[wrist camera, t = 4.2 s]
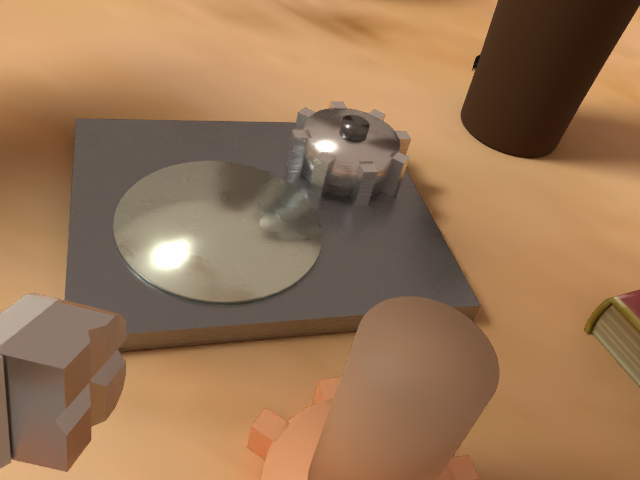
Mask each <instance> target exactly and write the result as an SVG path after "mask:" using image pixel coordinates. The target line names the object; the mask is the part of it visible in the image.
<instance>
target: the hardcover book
mask: <svg viewBox="0 0 640 480" xmlns="http://www.w3.org/2000/svg"><path fill="white" fill-rule="evenodd" d="M584 331H585V332H586V333H587V334H591V333H592V334H593V335H594V336H595V337H596V338H597V339H598V340H599V342H600V343H601V344H602V345H603V346H604V347H605V348H606V350H607V351H608V352H609V353H610V354H611V355H612V356H613V357H614V359H615V360H616V361H617V362H618V363H619V364H620V365H621V367H622V368H623V369H624V370H625V371H626V372H627V373H628V375H629V376H630V377H631V378H632V379H633V380H634V381H635V383H636V384H637V385H638V386H639V387H640V290H637V291H634V292H630V293H626V294H623V295H619V296H615V297H612V298H608V299H606V300H605V301H604V302H603V303H602V304H600V305H599V306H598V308H597V309H596V310H595V311H594V312H593V313H592V315H591V317H590V318H589V320H588V322H587V324H586V326H585V328H584Z"/></svg>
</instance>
